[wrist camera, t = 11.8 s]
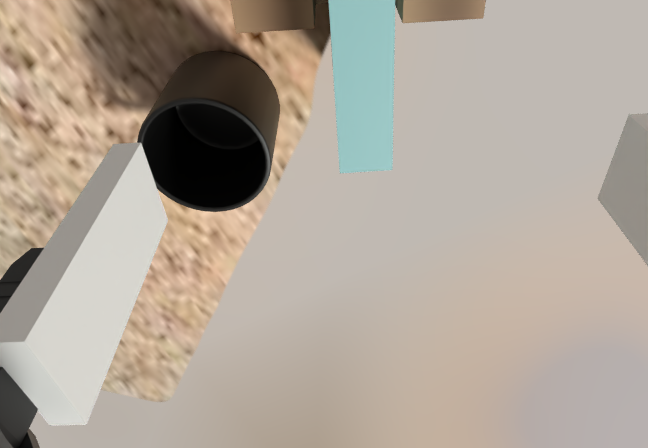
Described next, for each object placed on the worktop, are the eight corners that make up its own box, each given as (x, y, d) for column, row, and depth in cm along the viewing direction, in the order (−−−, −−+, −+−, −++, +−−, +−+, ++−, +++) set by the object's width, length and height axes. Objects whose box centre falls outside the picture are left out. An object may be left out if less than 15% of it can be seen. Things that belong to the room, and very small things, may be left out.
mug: (120, 80, 40) (76, 133, 33) (253, 32, 37) (236, 79, 30) (177, 170, 45) (150, 233, 38) (296, 135, 43) (290, 194, 36)
